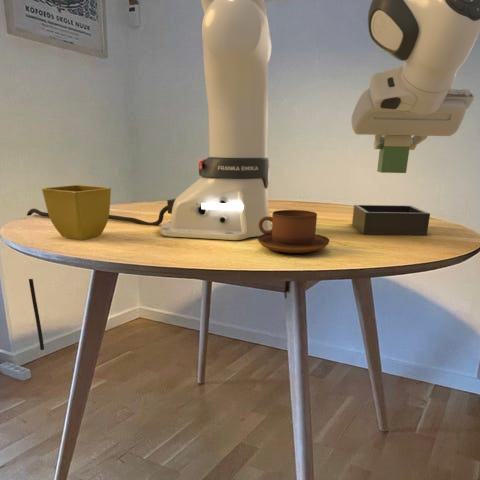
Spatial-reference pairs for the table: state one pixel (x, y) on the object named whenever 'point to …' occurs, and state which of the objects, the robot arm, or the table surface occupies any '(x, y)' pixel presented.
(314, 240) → the cup and saucer
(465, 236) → the table surface
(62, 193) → the flower pot
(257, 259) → the table surface
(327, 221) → the table surface
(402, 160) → the packet
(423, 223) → the dark open box
